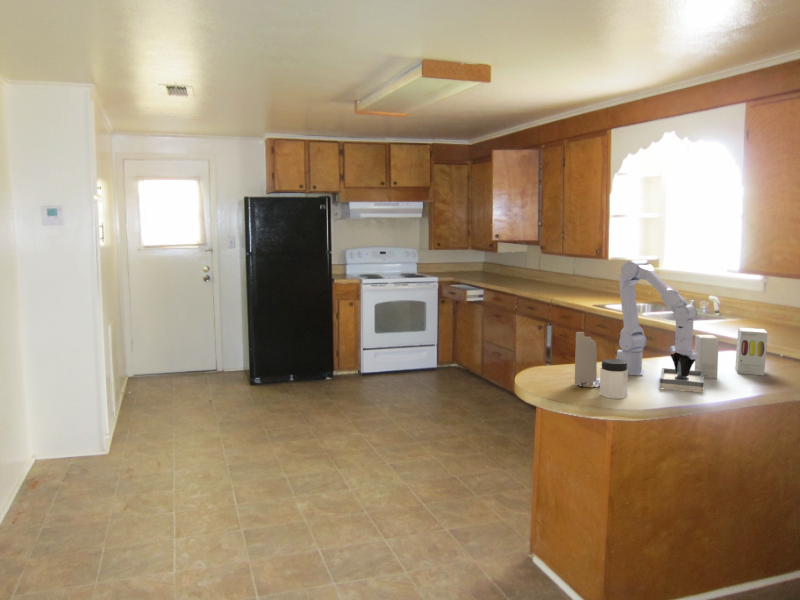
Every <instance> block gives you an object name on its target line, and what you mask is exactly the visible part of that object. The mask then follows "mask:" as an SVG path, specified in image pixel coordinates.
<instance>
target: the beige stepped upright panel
mask: <svg viewBox="0 0 800 600" xmlns="http://www.w3.org/2000/svg"><path fill="white" fill-rule="evenodd" d="M597 353H598V352H597V343H596V341H595V340H593V339H592V337H591V336H585V332H584V331H577V332H575V353H574V355H575V356H574V385H575V386H576V385H579V384H580V383H581V382H582V383H585V382H586V383H590V382H593V381H596V382H597V378H598V377H597V373H598V372H597V371H598V370H597V368H598V367H597V361H598V360H597V357H598V355H597Z"/></svg>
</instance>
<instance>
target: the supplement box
mask: <svg viewBox="0 0 800 600" xmlns="http://www.w3.org/2000/svg"><path fill="white" fill-rule="evenodd" d="M768 335H769V333H768V332H767V330H765V329H764V328H752V327H750V328H749V327H738V329H737V340H736V341H737V342H736V344H737V345H736V354H735V366H734V368H735V370H736V373H737V374H741V375H742V374H743V375H753V376H754V375H755V376H765V370H766V357H767V348H768V347H767V346H768Z"/></svg>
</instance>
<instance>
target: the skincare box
mask: <svg viewBox="0 0 800 600" xmlns="http://www.w3.org/2000/svg"><path fill="white" fill-rule="evenodd" d="M719 340H720V339H719V337H717V336H715V335H713V334H695V341H694V343H695V348H694V349H695V350H694V351H695V352H694V353H696V354H697V359H696V360H695V361H694V371H703V377H704V378H703V379H713V378H715V379H718V370H719V369H718V367H719V365H718V364H719V362H718V361H719Z"/></svg>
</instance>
